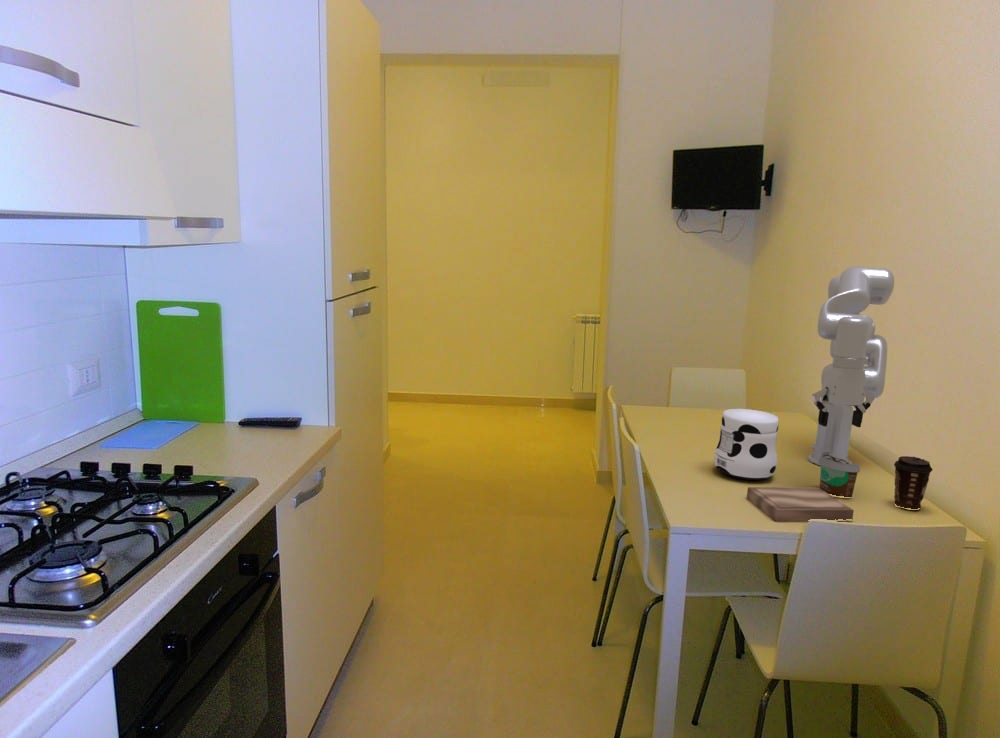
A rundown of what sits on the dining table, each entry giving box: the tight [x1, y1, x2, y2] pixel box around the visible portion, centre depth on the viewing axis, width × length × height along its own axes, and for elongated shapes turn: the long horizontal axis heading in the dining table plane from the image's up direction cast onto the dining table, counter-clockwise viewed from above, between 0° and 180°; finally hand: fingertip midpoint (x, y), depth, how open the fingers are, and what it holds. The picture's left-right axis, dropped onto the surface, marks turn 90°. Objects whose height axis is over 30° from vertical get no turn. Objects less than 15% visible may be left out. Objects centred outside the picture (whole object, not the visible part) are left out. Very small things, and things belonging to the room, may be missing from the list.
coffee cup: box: [893, 455, 933, 509], centre depth 192 cm, size 9×8×13 cm
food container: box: [819, 452, 861, 498], centre depth 200 cm, size 12×6×10 cm, turn 17°
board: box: [746, 486, 855, 523], centre depth 187 cm, size 16×20×3 cm
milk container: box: [714, 408, 779, 481], centre depth 211 cm, size 17×17×18 cm
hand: (839, 425), depth 197 cm, fingers open, 9 cm apart
